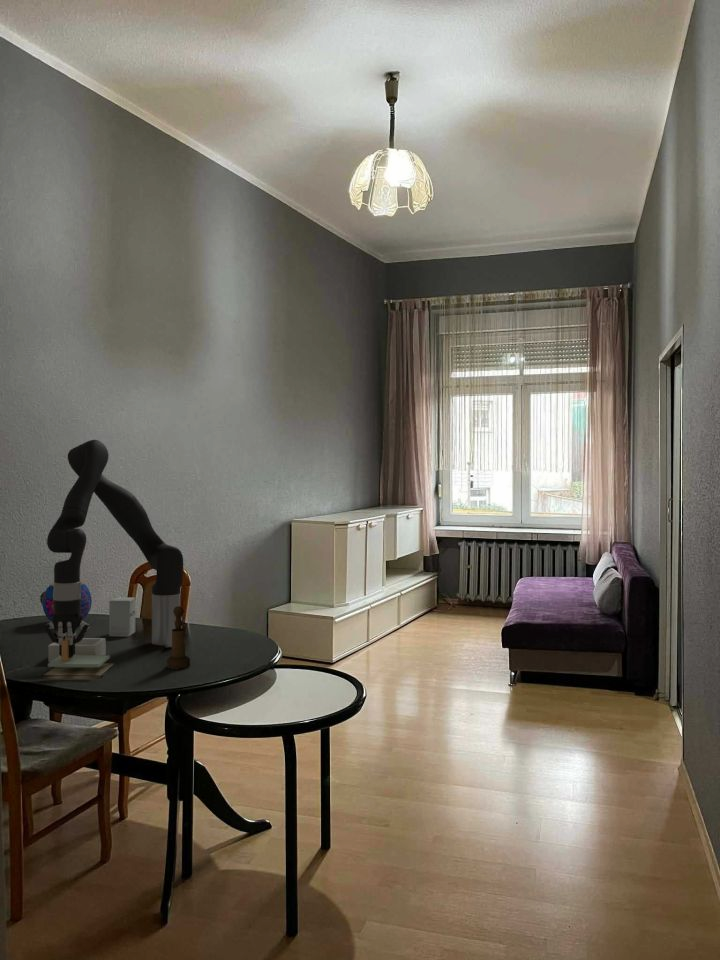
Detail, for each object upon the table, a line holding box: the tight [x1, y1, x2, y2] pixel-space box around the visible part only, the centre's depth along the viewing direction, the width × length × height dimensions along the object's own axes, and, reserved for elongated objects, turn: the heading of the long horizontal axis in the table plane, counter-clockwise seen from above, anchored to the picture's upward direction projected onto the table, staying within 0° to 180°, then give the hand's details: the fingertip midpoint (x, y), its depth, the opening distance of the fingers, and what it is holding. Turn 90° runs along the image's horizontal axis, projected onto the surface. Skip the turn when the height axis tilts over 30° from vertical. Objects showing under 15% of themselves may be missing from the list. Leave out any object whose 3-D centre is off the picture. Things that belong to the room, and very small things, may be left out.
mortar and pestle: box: [166, 605, 191, 670], centre depth 242 cm, size 7×6×18 cm
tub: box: [47, 637, 107, 663], centre depth 248 cm, size 14×10×6 cm
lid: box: [47, 636, 111, 668], centre depth 235 cm, size 14×10×7 cm
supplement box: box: [108, 596, 136, 638], centre depth 286 cm, size 7×7×13 cm
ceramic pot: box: [39, 581, 93, 622], centre depth 305 cm, size 18×18×15 cm
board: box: [43, 663, 114, 680], centre depth 235 cm, size 16×13×1 cm
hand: (67, 657), depth 235 cm, fingers closed on lid, 1 cm apart
